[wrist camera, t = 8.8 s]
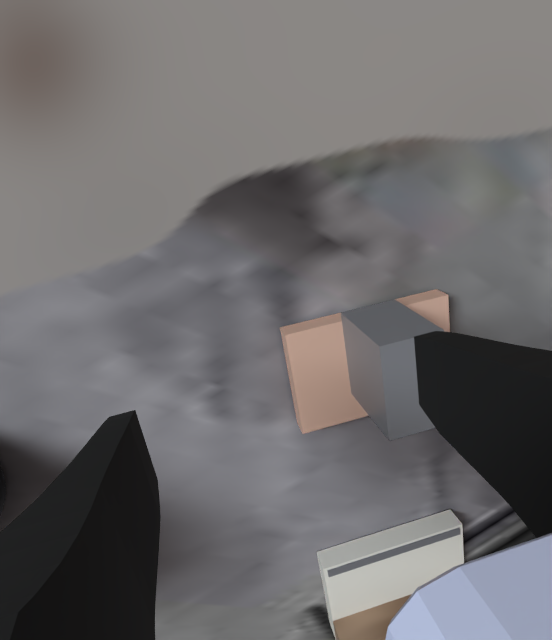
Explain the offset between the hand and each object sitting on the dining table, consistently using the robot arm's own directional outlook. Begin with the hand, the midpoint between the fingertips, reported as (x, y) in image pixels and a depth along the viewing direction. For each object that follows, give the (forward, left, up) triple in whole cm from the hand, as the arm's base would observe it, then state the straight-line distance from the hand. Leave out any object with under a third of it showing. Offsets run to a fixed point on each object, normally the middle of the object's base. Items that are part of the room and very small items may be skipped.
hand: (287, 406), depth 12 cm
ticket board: (-6, +18, -9) cm, 21 cm away
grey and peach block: (-6, +4, -9) cm, 11 cm away
